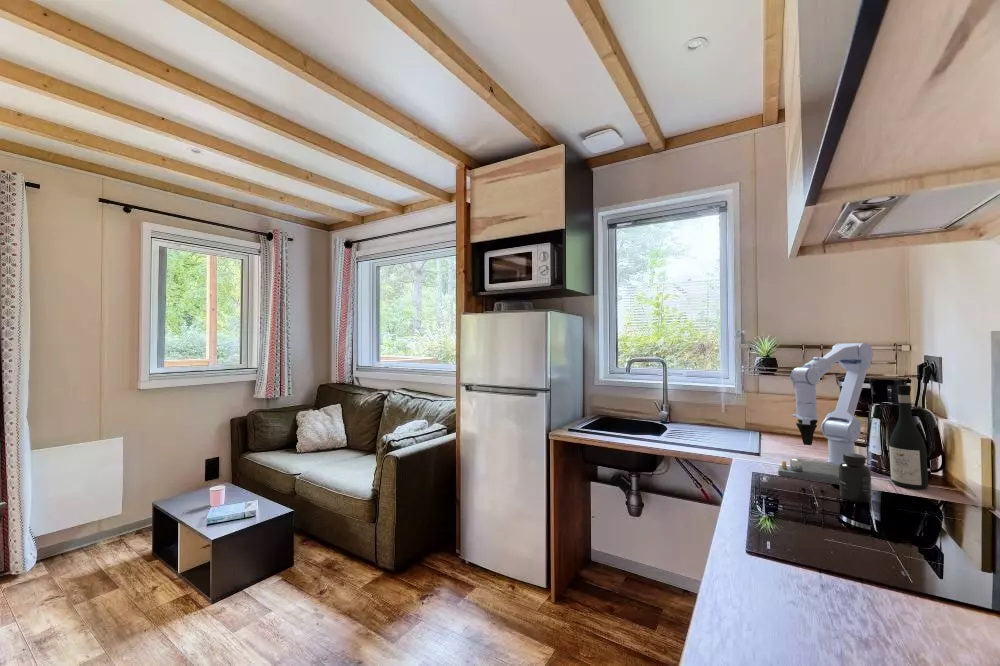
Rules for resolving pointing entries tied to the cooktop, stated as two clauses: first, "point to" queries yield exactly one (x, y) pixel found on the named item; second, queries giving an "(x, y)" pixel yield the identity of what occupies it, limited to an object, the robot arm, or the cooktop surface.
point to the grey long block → (815, 467)
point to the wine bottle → (907, 447)
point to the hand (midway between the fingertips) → (808, 442)
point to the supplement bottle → (855, 478)
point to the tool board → (805, 474)
